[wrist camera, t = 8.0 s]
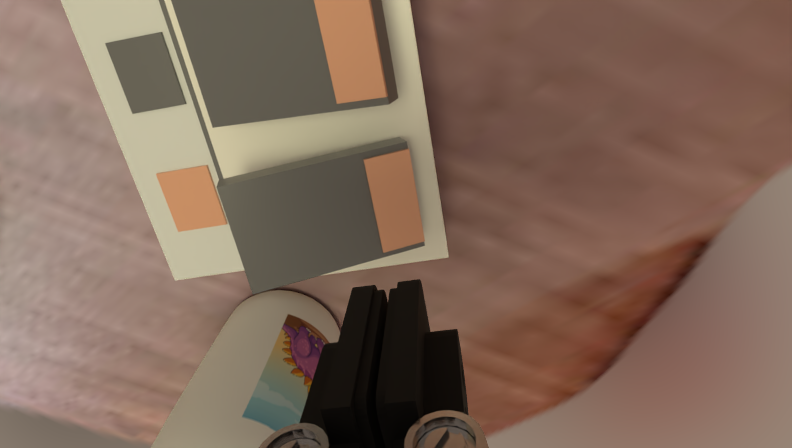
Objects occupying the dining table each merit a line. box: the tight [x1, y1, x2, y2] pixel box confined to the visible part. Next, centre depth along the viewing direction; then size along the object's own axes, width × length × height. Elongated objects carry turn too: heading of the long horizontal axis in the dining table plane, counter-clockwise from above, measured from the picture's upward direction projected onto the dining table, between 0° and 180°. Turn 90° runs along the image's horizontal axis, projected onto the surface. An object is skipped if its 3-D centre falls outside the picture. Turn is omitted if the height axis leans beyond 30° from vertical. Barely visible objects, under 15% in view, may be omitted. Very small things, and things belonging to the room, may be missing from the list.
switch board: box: [61, 0, 449, 280], centre depth 23 cm, size 17×24×5 cm
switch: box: [216, 137, 425, 294], centre depth 21 cm, size 8×5×1 cm, turn 100°
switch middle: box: [171, 0, 398, 128], centre depth 19 cm, size 8×5×1 cm, turn 100°
